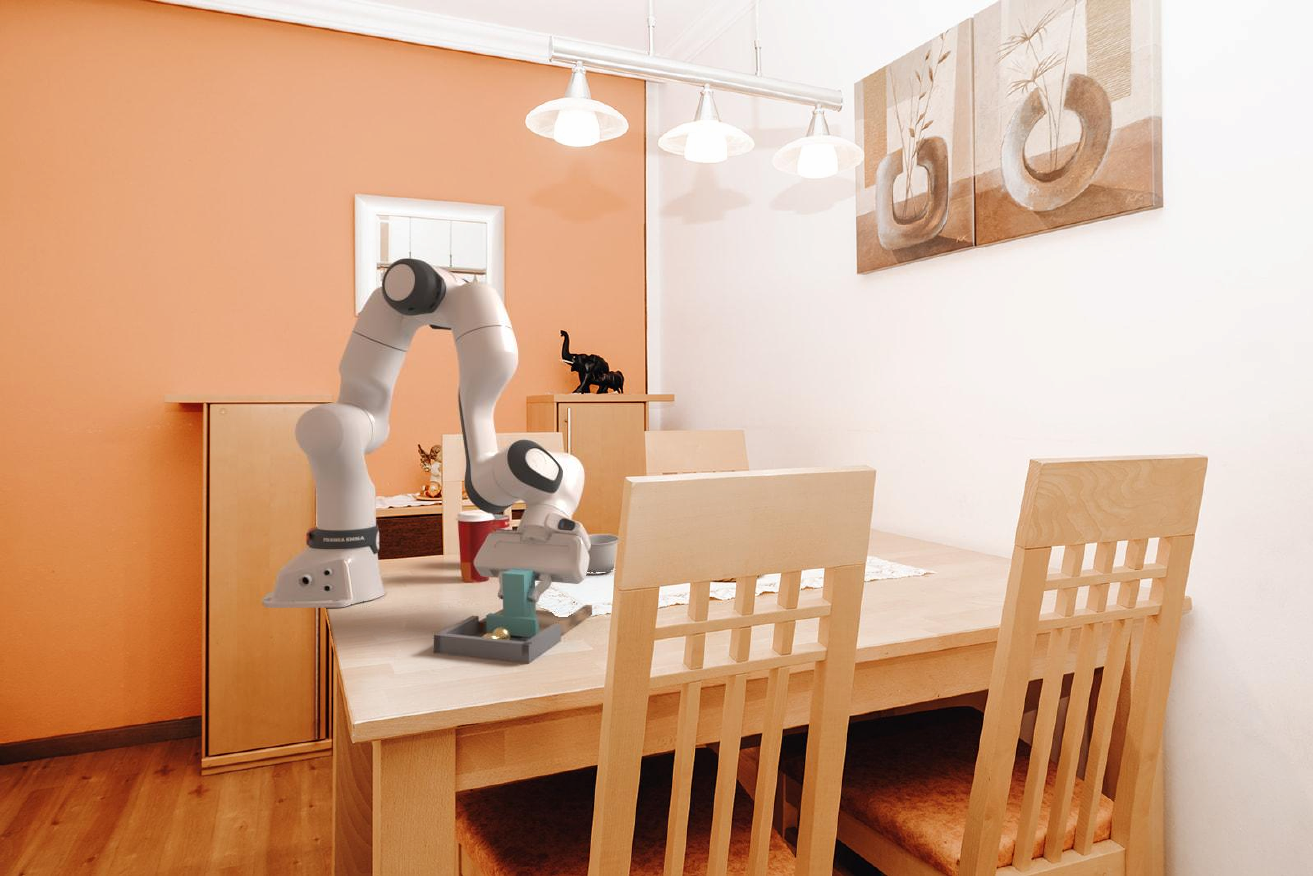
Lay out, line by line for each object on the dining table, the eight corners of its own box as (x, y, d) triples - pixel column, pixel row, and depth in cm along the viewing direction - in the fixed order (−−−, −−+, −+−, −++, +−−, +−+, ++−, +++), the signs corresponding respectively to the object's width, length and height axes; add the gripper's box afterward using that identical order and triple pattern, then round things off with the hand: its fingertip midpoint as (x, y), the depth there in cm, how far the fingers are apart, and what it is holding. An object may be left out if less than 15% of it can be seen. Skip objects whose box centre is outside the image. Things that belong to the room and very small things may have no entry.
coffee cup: (499, 575, 175) (499, 510, 174) (487, 584, 167) (487, 515, 166) (463, 574, 176) (463, 509, 175) (450, 583, 168) (449, 514, 167)
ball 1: (489, 656, 122) (479, 655, 119) (483, 638, 123) (474, 637, 120) (505, 648, 121) (496, 647, 119) (499, 630, 122) (490, 629, 120)
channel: (521, 609, 147) (521, 599, 146) (592, 616, 142) (592, 605, 142) (476, 634, 131) (475, 622, 131) (553, 642, 126) (553, 630, 126)
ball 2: (501, 647, 125) (492, 651, 122) (494, 630, 126) (484, 633, 123) (516, 639, 125) (507, 643, 122) (509, 622, 125) (500, 625, 122)
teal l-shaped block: (502, 623, 134) (500, 566, 133) (549, 628, 131) (548, 570, 130) (486, 632, 129) (485, 573, 128) (535, 637, 126) (534, 577, 125)
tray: (472, 633, 132) (472, 615, 131) (560, 642, 127) (560, 624, 127) (433, 653, 121) (433, 634, 120) (529, 664, 116) (528, 645, 116)
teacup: (628, 573, 178) (628, 539, 178) (585, 578, 172) (585, 543, 172) (600, 562, 190) (600, 530, 190) (560, 567, 184) (560, 534, 184)
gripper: (484, 518, 139) (455, 584, 130) (590, 524, 133) (566, 593, 124) (497, 539, 144) (469, 604, 135) (599, 545, 137) (578, 614, 129)
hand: (517, 599), depth 129 cm, fingers closed on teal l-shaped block, 4 cm apart
